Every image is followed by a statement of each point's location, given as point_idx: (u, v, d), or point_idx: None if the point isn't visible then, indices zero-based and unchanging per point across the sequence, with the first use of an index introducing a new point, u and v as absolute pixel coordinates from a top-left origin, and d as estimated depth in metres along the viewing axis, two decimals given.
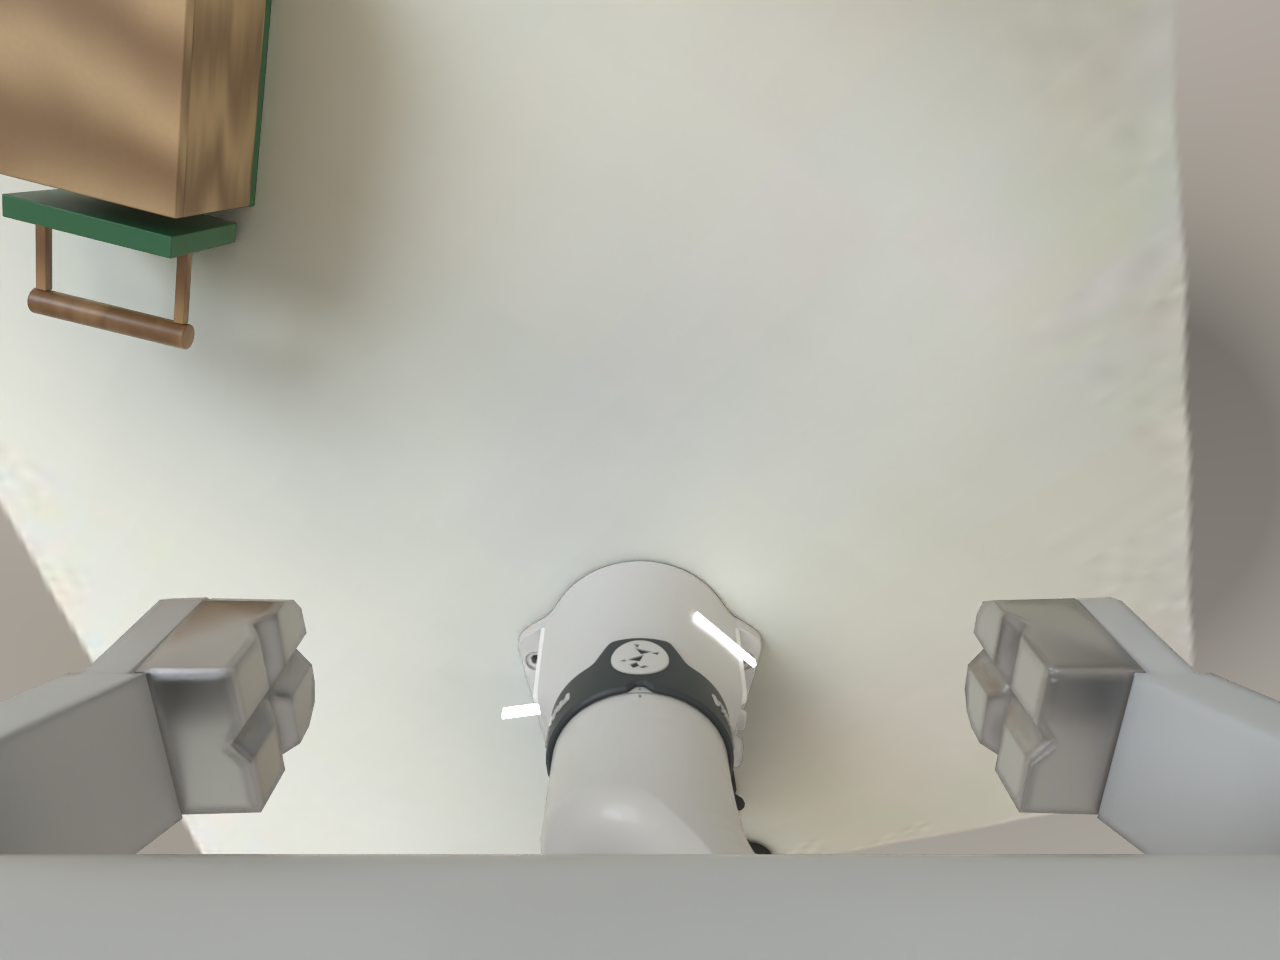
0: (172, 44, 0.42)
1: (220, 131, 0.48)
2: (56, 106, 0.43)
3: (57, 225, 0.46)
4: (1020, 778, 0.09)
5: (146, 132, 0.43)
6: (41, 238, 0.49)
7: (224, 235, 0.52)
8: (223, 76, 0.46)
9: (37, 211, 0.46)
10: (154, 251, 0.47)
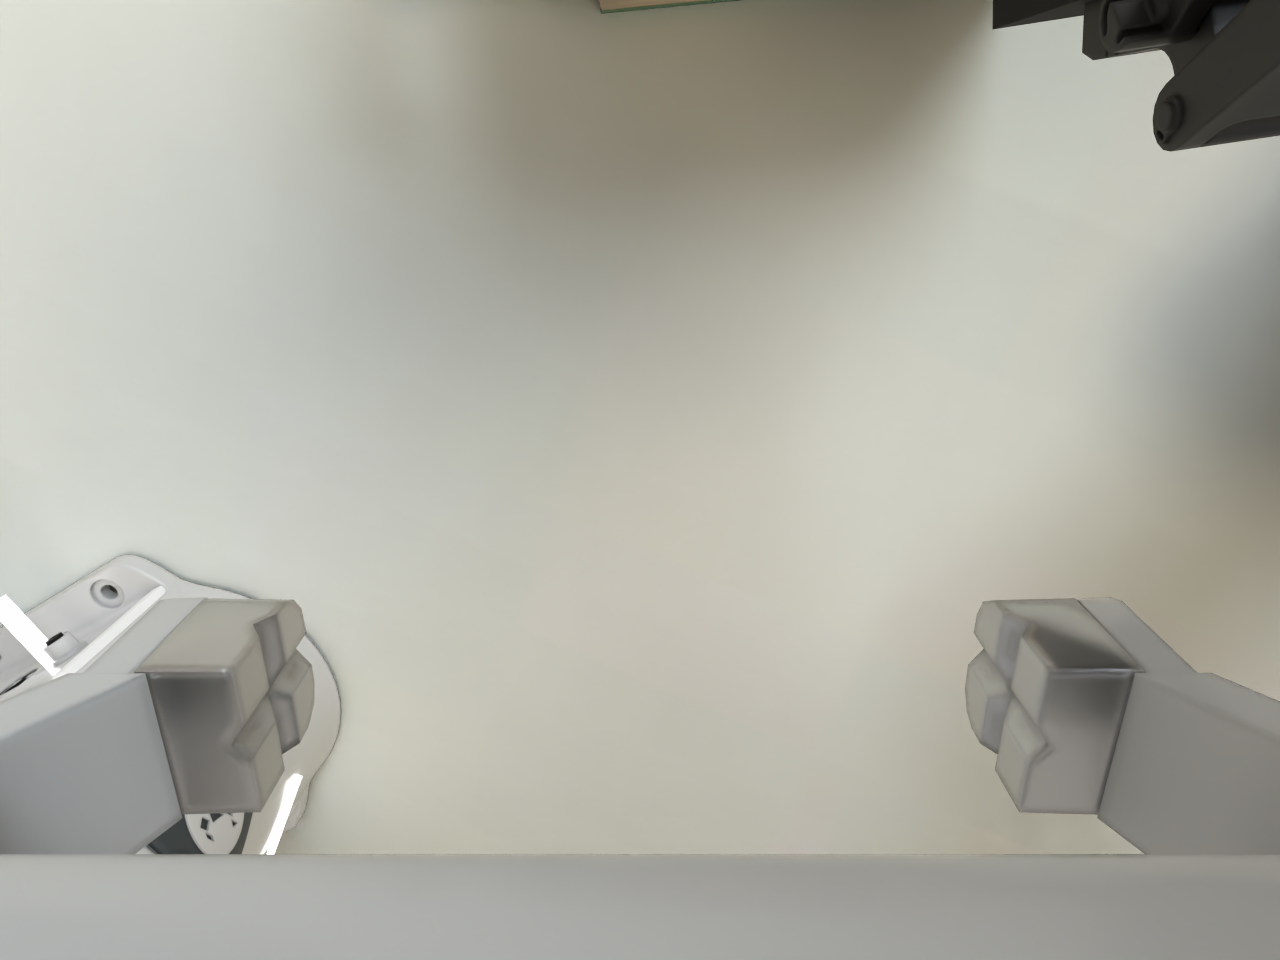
0: None
1: None
2: None
3: None
4: (1019, 778, 0.09)
5: None
6: None
7: None
8: None
9: None
10: None
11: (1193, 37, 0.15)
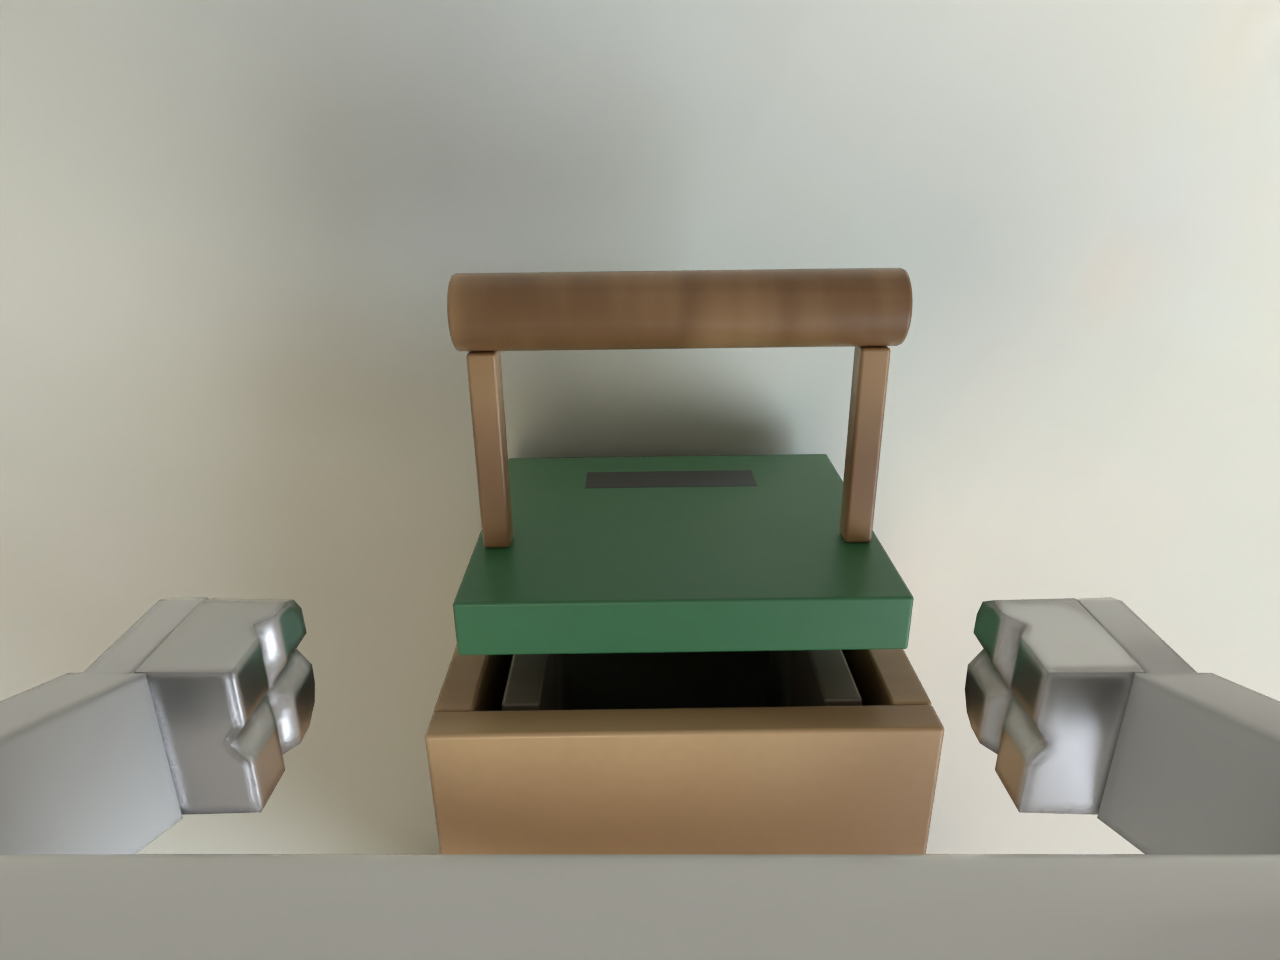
0: None
1: None
2: None
3: (764, 610, 0.16)
4: (1020, 777, 0.09)
5: None
6: (859, 489, 0.18)
7: None
8: None
9: (816, 631, 0.17)
10: (498, 611, 0.16)
11: None
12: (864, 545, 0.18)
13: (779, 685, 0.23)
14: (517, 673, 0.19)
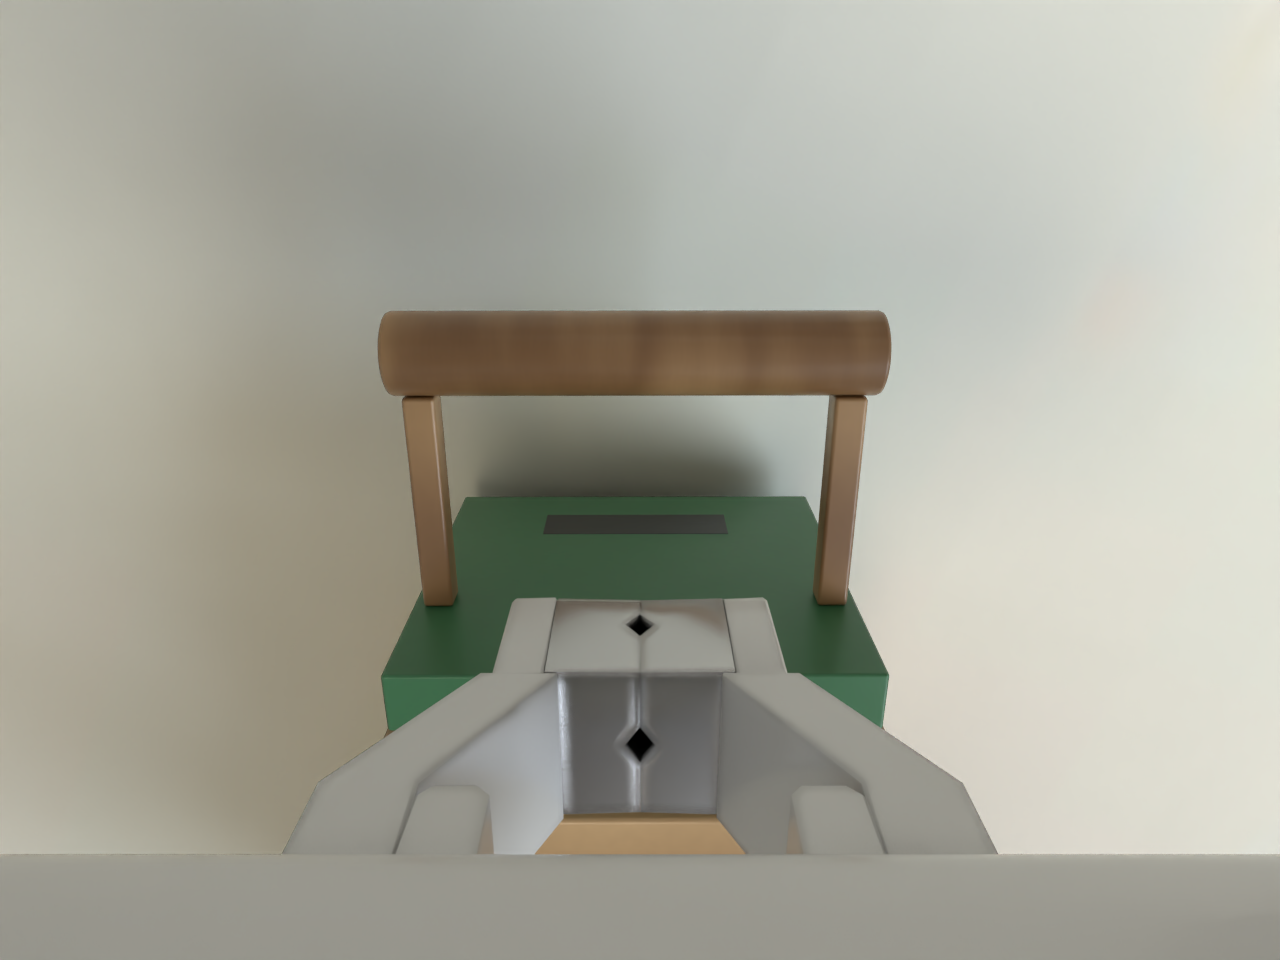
0: None
1: None
2: None
3: None
4: (640, 778, 0.09)
5: None
6: (833, 549, 0.17)
7: None
8: None
9: None
10: (431, 684, 0.15)
11: None
12: (838, 608, 0.17)
13: None
14: None
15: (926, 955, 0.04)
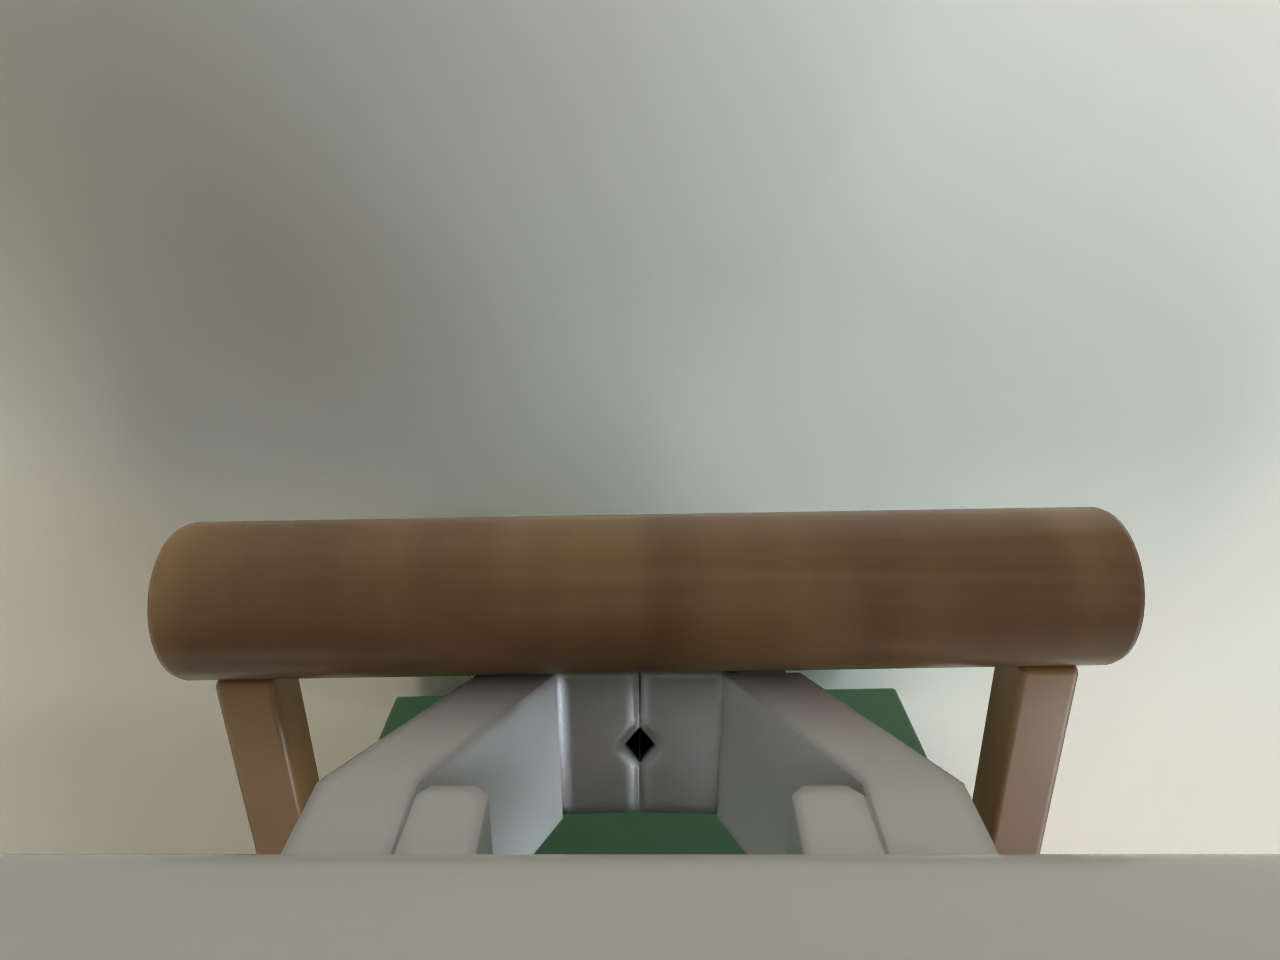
0: None
1: None
2: None
3: None
4: (640, 778, 0.09)
5: None
6: None
7: None
8: None
9: None
10: None
11: None
12: None
13: None
14: None
15: (926, 955, 0.04)
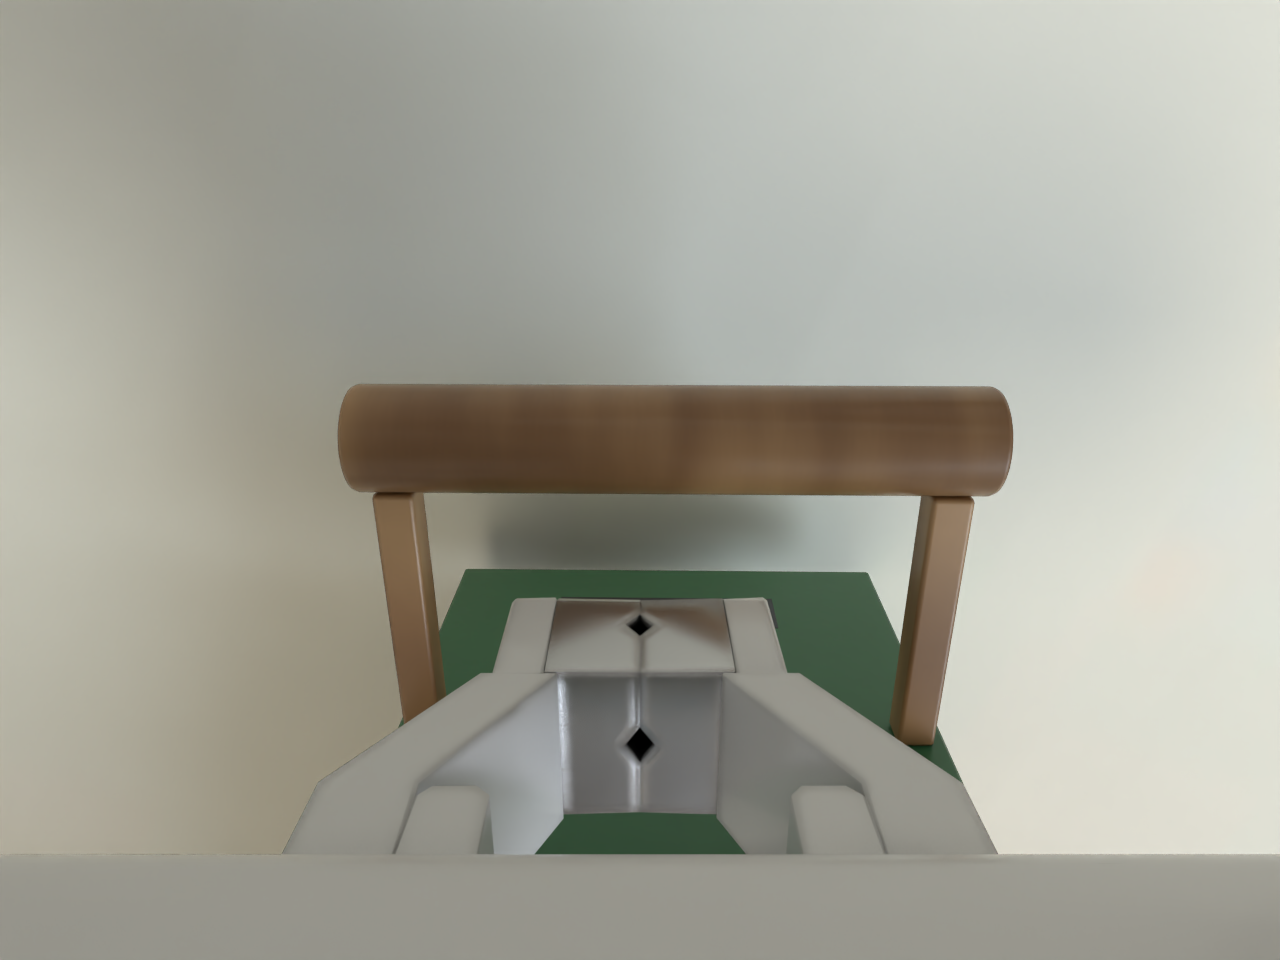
0: None
1: None
2: None
3: None
4: (639, 778, 0.09)
5: None
6: (920, 680, 0.13)
7: None
8: None
9: None
10: None
11: None
12: (924, 751, 0.13)
13: None
14: None
15: (926, 955, 0.04)
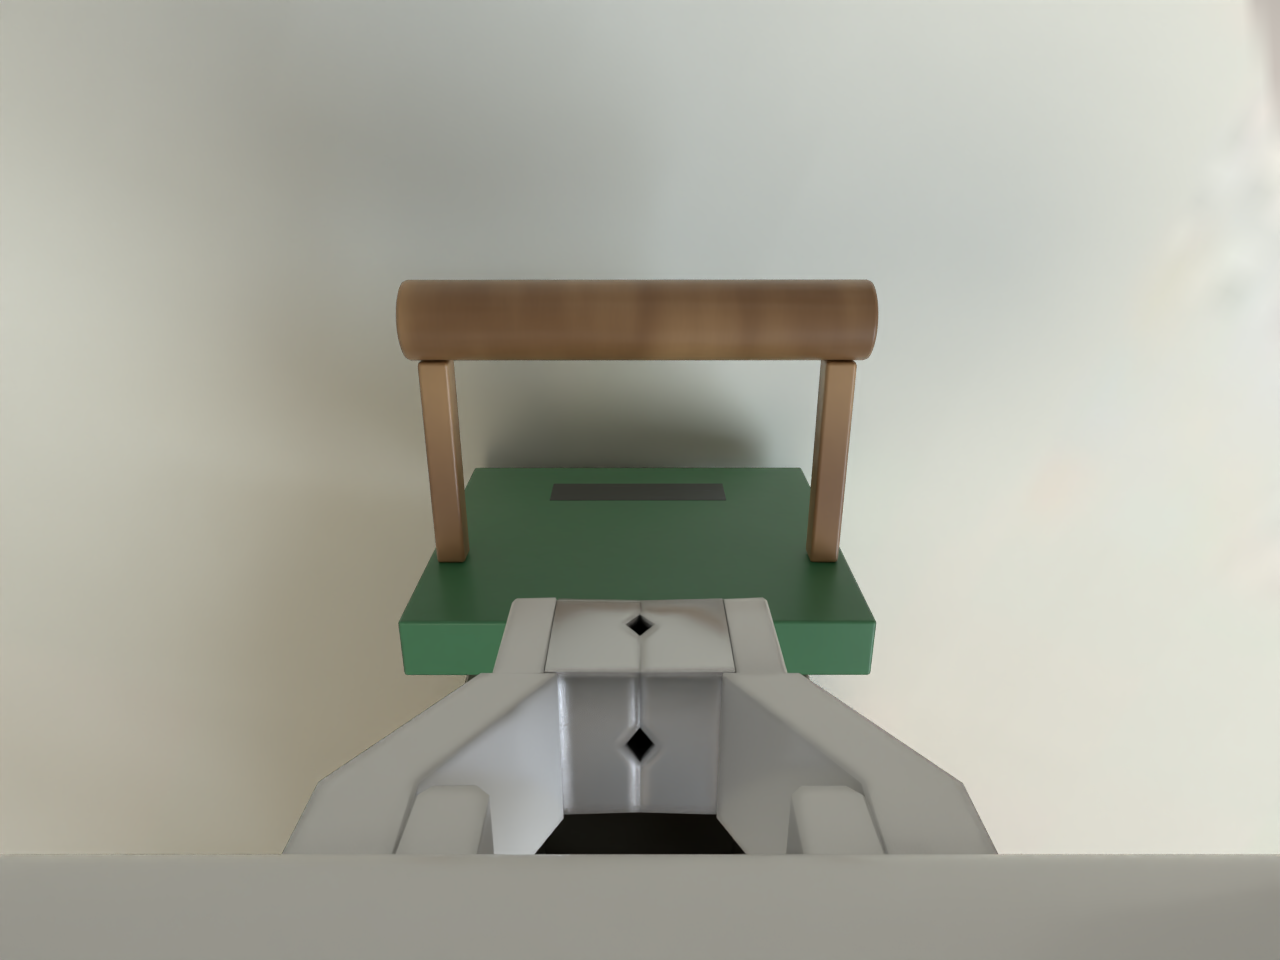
0: None
1: None
2: None
3: None
4: (640, 778, 0.09)
5: None
6: (825, 507, 0.17)
7: None
8: None
9: None
10: (445, 630, 0.16)
11: None
12: (830, 565, 0.18)
13: None
14: None
15: (926, 956, 0.04)
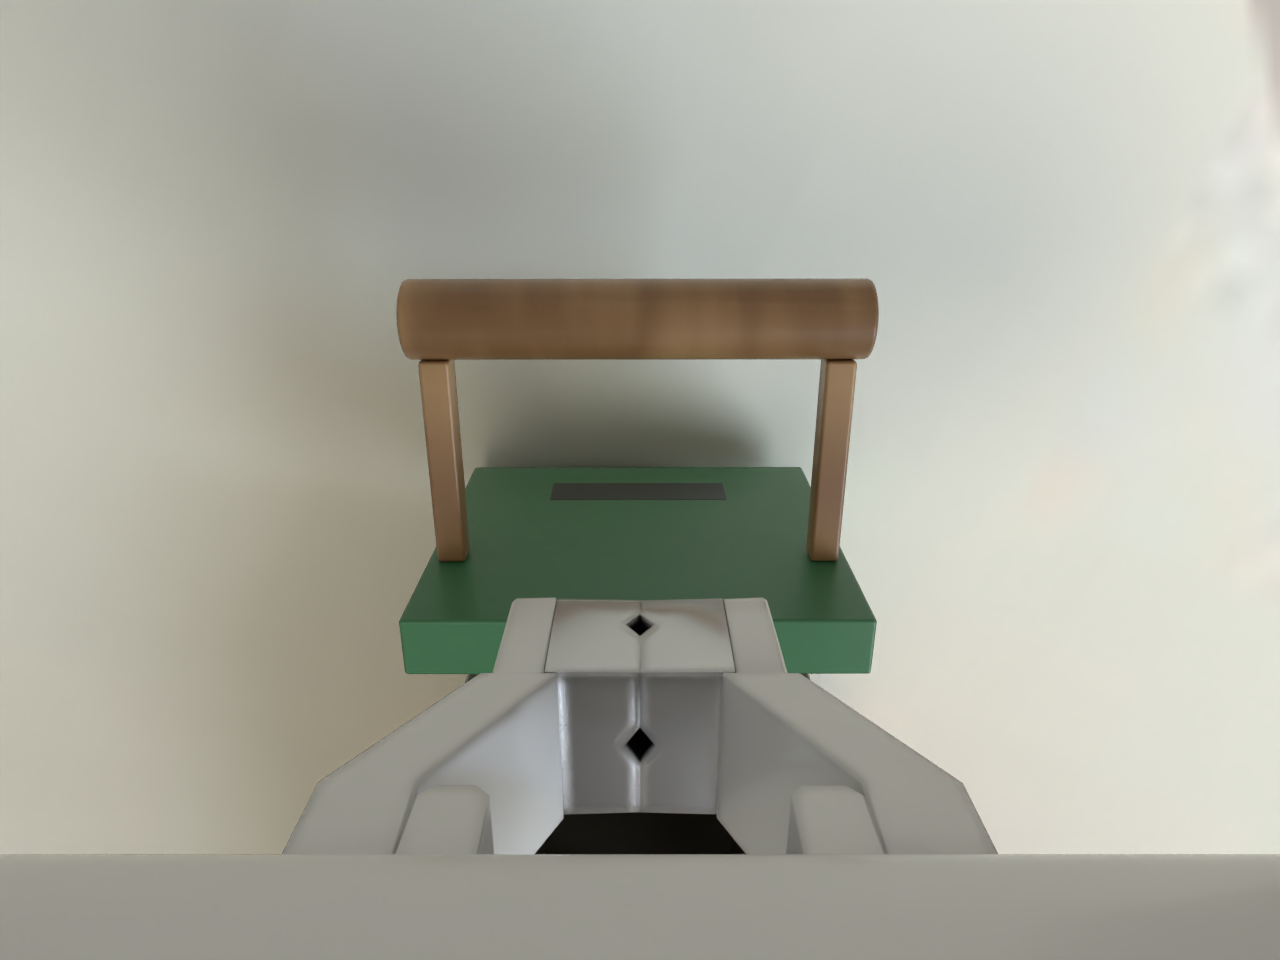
0: None
1: None
2: None
3: None
4: (640, 778, 0.09)
5: None
6: (825, 506, 0.17)
7: None
8: None
9: None
10: (446, 629, 0.16)
11: None
12: (830, 564, 0.18)
13: None
14: None
15: (926, 955, 0.04)
